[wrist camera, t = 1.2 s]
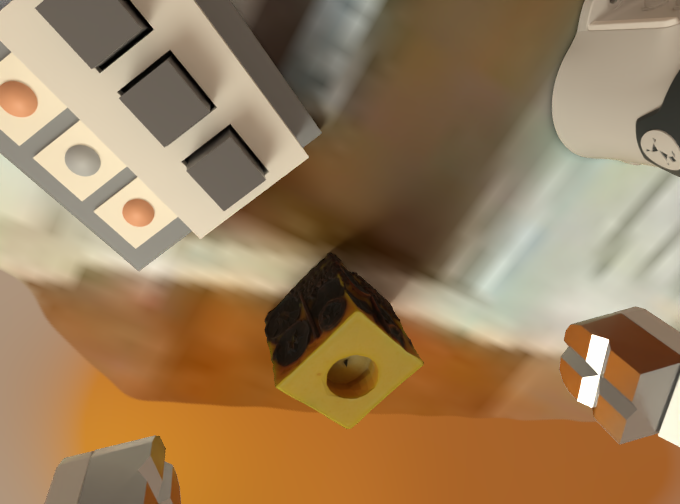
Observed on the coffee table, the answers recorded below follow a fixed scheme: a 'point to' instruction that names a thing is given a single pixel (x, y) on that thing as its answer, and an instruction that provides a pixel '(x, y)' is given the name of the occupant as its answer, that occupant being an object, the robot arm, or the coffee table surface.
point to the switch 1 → (95, 26)
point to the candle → (338, 344)
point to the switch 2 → (167, 101)
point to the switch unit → (129, 133)
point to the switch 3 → (226, 168)
